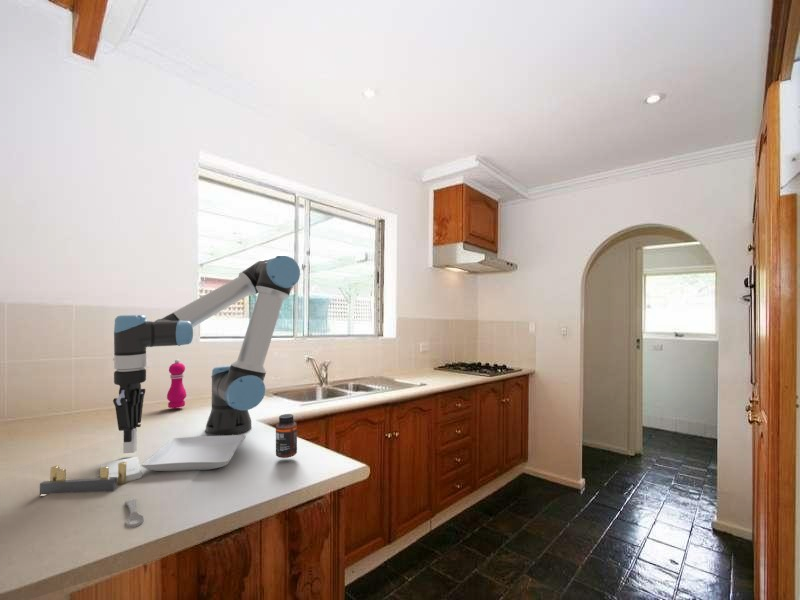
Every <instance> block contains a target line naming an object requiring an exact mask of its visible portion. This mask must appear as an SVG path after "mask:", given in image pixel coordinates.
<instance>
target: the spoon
mask: <svg viewBox="0 0 800 600" xmlns="http://www.w3.org/2000/svg"><path fill="white" fill-rule="evenodd" d="M136 501H137V500H136V498H131V499H127V500H125V501H124V505H125V506H127V508H128V509H129V517H128V518H127V519H126V520H125V526H126V527H127V528H137V527H140V526H141V525H142V524H143V523H144V519H145V518H144V516H143V515H141V514H139V513H138V512H137V508H136V507H137V506H136ZM135 521H136V522H135ZM132 522H134V523H132Z"/></svg>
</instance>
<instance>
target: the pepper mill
mask: <svg viewBox="0 0 800 600" xmlns="http://www.w3.org/2000/svg"><path fill="white" fill-rule="evenodd" d="M168 368H169V369H168V372H169V373H170V375H169V376H170V377H169V378H170V380H171V383H170V388H169V389H168V391H167V394H166V399H167V401H169V402H168V403H167V407H168V408H170V409H178V408H182V407H185V405H186V401H185V399H186V398H187V392H186V388H185V387H184V383H183V378H184V373H185V370H186V366H185V364H183V363H181V362H180V359H179V358H177V359H175V360H174V363H171V365H170V366H169V367H168Z"/></svg>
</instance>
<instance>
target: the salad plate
mask: <svg viewBox="0 0 800 600" xmlns="http://www.w3.org/2000/svg"><path fill="white" fill-rule="evenodd" d="M246 436H247V435H245V434H234V435H209V436H208V435H207V436H206V435H205V436H202V435H200V436H187V437H186V436H185V437H175V438H173V439H171V440H170V441H168V442H167V443H166V444H165V445H164V446H162V447H161V448H160V449H158V450H157V451H156V452H154V454H153V455H151V456H150V457H149V458H147V459H146V460H145V461H144V462H143V463H141V466H142V467H143V468H144V469H147V470H150V471H157V472H159V471H162V472H177V471H178V472H180V471H196V470H200V471H206V470H215V469H218V468H219V469H220V468H222V467H225V466H226V465H228V464H229V463H230V461H231V460H232V458H233V457H234V454H235V452H236V451H237V449H238V448H239V447H240V445H241V444H242V443H243V442H244V441H245V438H246Z"/></svg>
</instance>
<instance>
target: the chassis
mask: <svg viewBox="0 0 800 600" xmlns="http://www.w3.org/2000/svg"><path fill="white" fill-rule="evenodd" d="M49 477H50V478H49V480H44V481H42V482H41V483H39V496H40V495H41V494H48V495H50V494H58V493H59V494H63V493H98V492H101V493H102V492H105V493H106V492H115V491H116V490H117V485H118V486H123V485H126V483H127V481H126V462H121V463H119V464H118V483H117V477H109V467H108V466H105V467H102V468H100V467H99V477H95V478H92V477H91V478H79V479H78V478H77V479H76V478H75V479H67V469H66V468H61V469H60V465H53V466H51V467H50V474H49Z"/></svg>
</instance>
